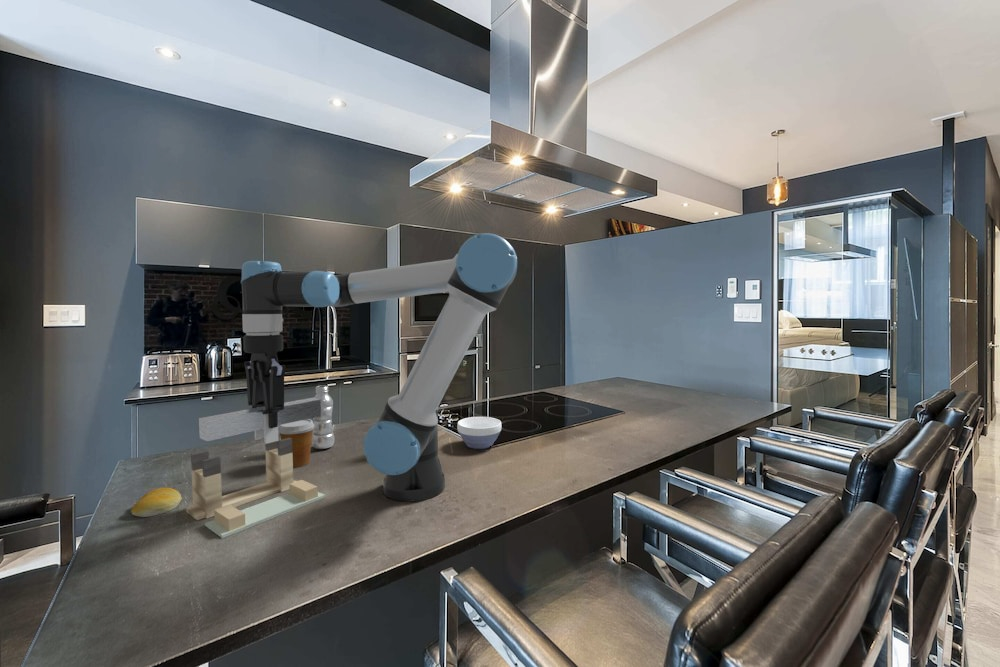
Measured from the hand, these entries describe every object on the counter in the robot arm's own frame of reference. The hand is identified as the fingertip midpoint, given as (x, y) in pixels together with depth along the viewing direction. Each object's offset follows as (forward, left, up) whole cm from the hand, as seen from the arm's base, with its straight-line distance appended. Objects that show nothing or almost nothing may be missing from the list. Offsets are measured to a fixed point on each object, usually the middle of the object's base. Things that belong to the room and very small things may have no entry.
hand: (266, 439), depth 93 cm
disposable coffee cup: (+22, -19, -16) cm, 34 cm away
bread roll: (+22, +14, -16) cm, 31 cm away
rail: (0, 0, +3) cm, 3 cm away
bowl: (-10, -63, -16) cm, 66 cm away
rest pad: (0, 0, -16) cm, 16 cm away
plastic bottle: (+28, -31, -16) cm, 45 cm away
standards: (+11, 0, -16) cm, 19 cm away
